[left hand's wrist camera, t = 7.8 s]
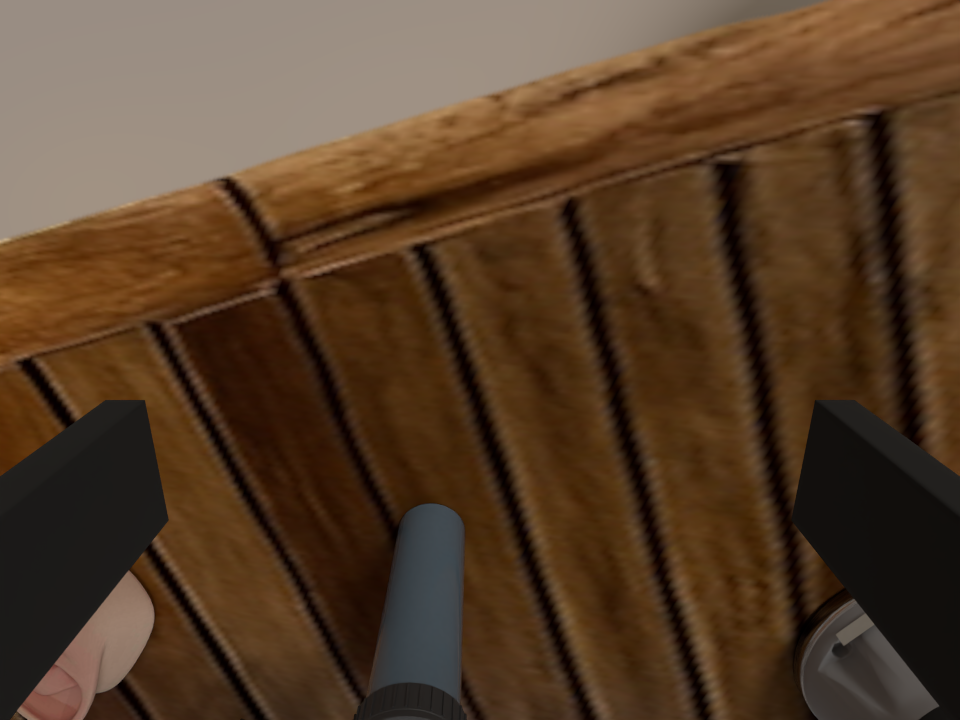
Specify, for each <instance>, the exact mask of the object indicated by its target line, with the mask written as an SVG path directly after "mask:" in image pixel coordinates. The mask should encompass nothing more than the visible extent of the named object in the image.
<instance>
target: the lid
mask: <svg viewBox="0 0 960 720" xmlns="http://www.w3.org/2000/svg"><path fill="white" fill-rule="evenodd" d="M353 720H467V715H466V714H465V713H464V711H463V709H462V706H461V705H460V704H459V703H458V702H457V701H456V700H455V698H454V697H452V696H451V695H449V694H448V693H446V692H445V691H443V690H441V689H439V688H436V687H434V686H431V685H427V684H422V683H411V682H408V683H397V684H392V685H388V686H386V687H383V688H381V689H379V690H377V691H374V692H373V693H372V694H370V695H369V696H368V697H367V698H365V699H364V701H363V702H362V704H361V705H360V706H358V709H357V714H355V715H354V719H353Z"/></svg>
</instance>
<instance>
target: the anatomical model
mask: <svg viewBox="0 0 960 720" xmlns="http://www.w3.org/2000/svg"><path fill="white" fill-rule="evenodd" d="M153 624H154V608H153V605H152V602H151V599H150V597H149V595H148V594H147V592H146V591H145V589H144V588H143V586H142V585H141V583H140V582H139V581H138V580H137V579H136V577H135V576H134V575H133V574H132V573H131V572H130V571H128V572H127V573H126V574H125V576H124V577H123V578H122V579H121V581H120V582H119V583H118V584H117V586H116V587H115V588H114V589H113V591H112V592H111V593H110V594H109V596H108V597H107V598H106V599H105V601H104V602H103V603H102V604H101V606H100V607H99V608H98V610H97V611H96V612H95V613H94V615H93V616H92V617H91V618H90V620H89V621H88V622H87V623H86V625H85V626H84V627H83V628H82V630H81V631H80V632H79V633H78V635H77V636H76V637H75V638H74V640H73V641H72V642H71V643H70V645H69V646H68V647H67V648H66V650H65V651H64V652H63V653H62V655H61V656H60V657H59V658H58V660H57V661H56V662H55V664H54V665H53V666H52V667H51V669H50V670H49V671H48V672H47V674H46V675H45V676H44V677H43V679H42V680H41V681H40V682H39V684H38V685H37V686H36V687H35V689H34V690H33V691H32V692H31V694H30V695H29V696H28V697H27V699H26V700H25V701H24V702H23V704H22V705H21V706H20V707H19V709H18V710H17V712H19V713H20V714H21V715H22V716H24V717H25V718H26V719H28V720H83V719H84V717H85V716H86V714H87V712H88V710H89V708H90V706H91V704H92V702H93V699H94V696H95V693H101V692H105V691H107V690H110V689H112V688H113V687H115V686H116V685H117V684H118V683H119V682H120V681H121V680H122V679H123V678H124V677H125V676H126V675H127V673H128V672H129V671H130V669H131V668H132V667H133V665H134V664H135V662H136V661H137V659H138V657H139V656H140V654H141V652H142V650H143V649H144V647H145V645H146V643H147V641H148V639H149V636H150V634H151V631H152V628H153Z"/></svg>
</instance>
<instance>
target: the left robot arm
mask: <svg viewBox="0 0 960 720" xmlns="http://www.w3.org/2000/svg"><path fill="white" fill-rule="evenodd" d="M167 522H168V515H167V510H166V505H165V500H164V495H163V490H162V485H161V480H160V474H159V469H158V464H157V459H156V454H155V449H154V444H153V439H152V434H151V429H150V424H149V419H148V414H147V409H146V404H145V400H105V401H104V402H102V403H101V404H100V405H98V406H97V407H96V408H94V409H93V410H91V411H90V412H89V413H87V414H86V415H84V416H83V417H82V418H80V419H79V420H78V421H76V422H75V423H73V424H72V425H71V426H69V427H68V428H67V429H65V430H64V431H62V432H61V433H60V434H58V435H57V436H55V437H54V438H53V439H51V440H50V441H49V442H47V443H46V444H44V445H43V446H42V447H40V448H39V449H38V450H36V451H35V452H33V453H32V454H31V455H29V456H28V457H26V458H25V459H24V460H22V461H21V462H20V463H18V464H17V465H15V466H14V467H13V468H11V469H10V470H9V471H7V472H6V473H4V474H3V475H2V476H0V720H10V719H11V718H12V716H13V715H14V714H15V712H16V711H17V710H18V709H19V707H20V706H21V705H22V704H23V702H24V701H25V700H26V699H27V697H28V696H29V695H30V694H31V692H32V691H33V690H34V689H35V687H36V686H37V685H38V684H39V682H40V681H41V680H42V679H43V677H44V676H45V675H46V674H47V672H48V671H49V670H50V669H51V667H52V666H53V665H54V664H55V662H56V661H57V660H58V658H59V657H60V656H61V655H62V653H63V652H64V651H65V650H66V648H67V647H68V646H69V645H70V643H71V642H72V641H73V640H74V638H75V637H76V636H77V635H78V633H79V632H80V631H81V630H82V628H83V627H84V626H85V625H86V623H87V622H88V621H89V620H90V618H91V617H92V616H93V615H94V613H95V612H96V611H97V610H98V608H99V607H100V606H101V604H102V603H103V602H104V601H105V599H106V598H107V597H108V596H109V594H110V593H111V592H112V591H113V589H114V588H115V587H116V586H117V584H118V583H119V582H120V581H121V579H122V578H123V577H124V576H125V574H126V573H127V572H128V571H129V569H130V568H131V567H132V566H133V564H134V563H135V562H136V561H137V559H138V558H139V557H140V555H141V554H142V553H143V552H144V550H145V549H146V548H147V547H148V545H149V544H150V543H151V542H152V540H153V539H154V538H155V537H156V535H157V534H158V533H159V532H160V530H161V529H162V528H163V527H164V525H165V524H166V523H167ZM792 522H793V523H794V524H795V525H796V527H797V528H798V529H799V530H800V532H801V533H802V534H803V535H804V537H805V538H806V539H807V540H808V542H809V543H810V544H811V545H812V547H813V548H814V549H815V550H816V552H817V553H818V554H819V555H820V557H821V558H822V559H823V561H824V562H825V563H826V564H827V566H828V567H829V568H830V569H831V571H832V572H833V573H834V574H835V576H836V577H837V578H838V579H839V581H840V582H841V583H842V584H843V586H844V587H845V588H846V590H845V591H843V592H841V593H840V594H838V595H837V596H836V597H834V598H833V599H832V600H830V601H829V602H828V603H827V604H825V605H824V606H823V607H822V608H821V609H820V610H819V611H818V612H817V613H816V615H815V616H814V617H813V618H812V619H811V620H810V622H809V623H808V625H807V626H806V628H805V629H804V631H803V633H802V634H801V637H800V639H799V641H798V644H797V647H796V650H795V654H794V663H793V668H794V676H795V681H796V683H797V686H798V688H799V690H800V692H801V694H802V696H803V697H804V699H805V701H806V703H807V705H808V706H809V708H810V709H811V711H812V712H813V714H814V715H815V716H816V717H817V718H818V720H960V476H958V475H957V474H956V473H954V472H953V471H951V470H950V469H949V468H947V467H946V466H945V465H943V464H942V463H940V462H939V461H938V460H936V459H935V458H934V457H932V456H931V455H929V454H928V453H927V452H925V451H924V450H922V449H921V448H920V447H918V446H917V445H916V444H914V443H913V442H911V441H910V440H909V439H907V438H906V437H905V436H903V435H902V434H900V433H899V432H898V431H896V430H895V429H893V428H892V427H891V426H889V425H888V424H887V423H885V422H884V421H882V420H881V419H880V418H878V417H877V416H876V415H874V414H873V413H871V412H870V411H869V410H867V409H866V408H864V407H863V406H862V405H860V404H859V403H858V402H856V401H855V400H815V404H814V409H813V414H812V419H811V424H810V429H809V434H808V439H807V444H806V449H805V454H804V459H803V464H802V469H801V474H800V480H799V485H798V490H797V495H796V500H795V505H794V510H793V515H792Z"/></svg>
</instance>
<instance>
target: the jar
mask: <svg viewBox="0 0 960 720" xmlns="http://www.w3.org/2000/svg"><path fill="white" fill-rule="evenodd" d="M464 555H465V527H464V524H463V521H462V520H461V518H460V517H459V516H458V514H457V513H456V512H454V511H453V510H452V509H450V508H448V507H446V506H443V505H440V504H422V505H419V506H416V507H414V508H412V509H411V510H409V511H408V512H407V513H406V514H405V515H404V516H403V518H402V519H401V521H400V524H399V528H398V533H397V539H396V544H395V549H394V555H393V560H392V565H391V570H390V576H389V581H388V586H387V591H386V597H385V602H384V607H383V613H382V618H381V623H380V628H379V634H378V639H377V644H376V649H375V655H374V660H373V665H372V671H371V676H370V681H369V686H368V692H367V697H368V696H369V695H370V694H372V693H373V692H374V691H377V690H379V689H381V688H383V687H386V686H388V685H392V684H397V683H408V682H411V683H422V684H427V685H431V686H434V687H436V688H439V689H441V690H443V691H445V692H446V693H448V694H449V695H451V696H452V697H454V698H455V700H456V701H457V702H458V703H459V704H460V705H461V670H462V632H463V593H464ZM367 697H366V698H367Z"/></svg>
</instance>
